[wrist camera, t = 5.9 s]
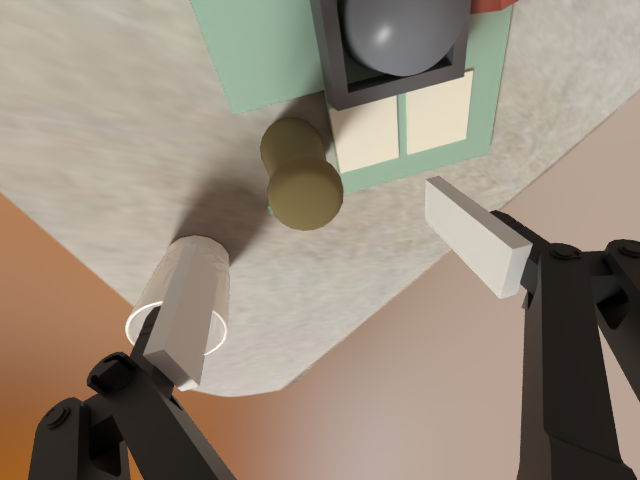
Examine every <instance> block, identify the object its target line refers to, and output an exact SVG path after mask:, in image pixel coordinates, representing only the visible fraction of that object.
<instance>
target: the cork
mask: <svg viewBox="0 0 640 480" xmlns="http://www.w3.org/2000/svg"><path fill="white" fill-rule="evenodd" d="M260 151H261V158H262V160H263V163H264V165H265V167H266V170H267V172H268V174H269V176H270V181H269V185H268V202H269V205H270V207H271V209H272V212H273V213H274V215H275V216H276V217H277V218H278V219H279V220H280V221H281V223H282V224H284V225H286V226H288V227H290V228H292V229H297V230H302V231H307V230H315V229H318V228H320V227H323V226H324V225H326V224H327V223H329V222H330V221H331V220H332V219H333V218H334V217H335V216H336V214H337V213H338V212H339V210H340V208H341V205H342V203H343V193H344V188H343V184H342V181H341V177H340V176H339V174H338V173H337V171H336V170H335V168H334V167H333V166H332V165H331V164H330V163H328V162H327V161H326V156H325V151H324V146H323V142H322V139H321V136H320V134H319V133H318V131H317V130H316V128H315V127H314V126H312V125H311V124H310V123H309V122H307V121H305V120H302V119H299V118H285V119H282V120H279V121H276V122H275V123H274V124H273V125H271V126H270V127H269V128H268V129H267V131H266V132H265V134H264V136H263V137H262V142H261V146H260Z"/></svg>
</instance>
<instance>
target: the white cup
mask: <svg viewBox="0 0 640 480" xmlns="http://www.w3.org/2000/svg"><path fill="white" fill-rule="evenodd" d="M196 243H197V244H198V245H199V247H200V249H201V250H202V252H203V254H204V255H205V257H206V259H207V260H208V262H209V264H210V265H211V267H212V269H213V270H214V272H215V274H216V275H217V277H218V284H217V289H216V295H215V300H214V306H213V312H212V317H211V323H210V329H209V334H208V340H207V346H206V351H205V355H207V354H209V353H211V352H213V351H215V350H216V349H217V348H219V347H220V346H221V345H222V344H223V342H224V341H225V339H226V337H227V333H228V314H229V296H230V294H229V291H230V274H229V268H230V263H229V254H228V253H227V251H226V250H225V249H224V247H223V246H222V245H221V244H220V243H218V242H216V241H214V240H213V239H211V238H208V237H202V236H196V235H193V236H188V237H183V238H179V239H178V240H176V241H175V242H174V243H172V244H171V245H170V246H169V247H168V249H167V251H166V253H165V255H164V257H163V259H162V260H161V262H160V263H159V264H158V265H157V267H156V269H155V271H154V272H153V274H152V276H151V278H150V279H149V281H148V283H147V284H146V286H145V288H144V290H143V292H142V294H141V296H140V298H139V300H138V302H137V303H136V305H135V307H134V309H133V311H132V313H131V315H130V316H129V318H128V320H127V323H126V327H125V328H126V335H127V337H128V339H129V340H130V342H131V343H132V344H133V345H135V343H136V340H137V338H138V337H139V333H140V331H141V329H142V326H143V324H144V321H145V319H146V317H147V316H148V314H149V313H150V312H151V311H152V309H153V308H154V307H157V306H161V305H162V303H163V300H164V298H165V295H166V292H167V290H168V287H169V284H170V282H171V279H172V277H173V274H174V271H175V269H176V266H177V263H178V261H179V258H180V255H181V253H182V250H183V247H185V246H189V245H193V244H196Z"/></svg>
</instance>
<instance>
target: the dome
mask: <svg viewBox="0 0 640 480" xmlns="http://www.w3.org/2000/svg"><path fill="white" fill-rule="evenodd" d="M470 2H471V0H338V4H337V11H338V19H339V26H340V34H341V41H342V44H343V46H344V48H345V50H346V51H347V53H348V54H349V56H350V57H351V58H352V59H353V60H354V61H355V62H357V63H358V64H359V65H361V66H363V67H365V68H368V69H372V70H376V71H380V72H384V73H388V74H392V75H397V76H410V75H415V74H418V73H421V72H423V71H425V70H427V69H429V68H430V67H432V66H433V65H435V64H436V63H437V62H438V61H440V60H441V59H442V58H443V57H444V56H445V55H446V53H447V52H448V51H449V50H450V48H451V47H452V46H453V44H454V43H455V41H456V40H457V38H458V36H459V34H460V32H461V30H462V28H463V25H464V23H465V21H466V17H467V14H468V11H469V7H470Z"/></svg>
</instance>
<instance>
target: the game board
mask: <svg viewBox="0 0 640 480" xmlns="http://www.w3.org/2000/svg"><path fill="white" fill-rule="evenodd" d="M190 2H191V5H192V8H193V10H194V13H195V16H196V18H197V21H198V24H199V26H200V29H201V32H202V34H203V37H204V40H205V42H206V45H207V48H208V50H209V53H210V56H211V58H212V61H213V64H214V66H215V69H216V72H217V74H218V77H219V80H220V82H221V85H222V88H223V90H224V93H225V96H226V98H227V101H228V104H229V106H230V109H231V112H232V114H233V115H234V114H238V113H242V112H246V111H249V110H253V109H257V108H260V107H264V106H268V105H271V104H275V103H279V102H283V101H286V100H290V99H294V98H297V97H301V96H305V95H308V94H312V93H316V92H320V91H323V90H324V93H325V99H326V104H327V110H328V116H329V121H330V127H331V132H332V138H333V143H334V149H335V155H336V160H337V166H338V171H339V176H340V177H341V181H342V184H343V188H344V193H343V194H347V193H350V192H354V191H358V190H361V189H365V188H368V187H372V186H376V185H379V184H383V183H386V182H390V181H393V180H397V179H401V178H404V177H408V176H411V175H415V174H419V173H422V172H426V171H429V170H433V169H437V168H440V167H444V166H447V165H451V164H454V163H458V162H462V161H465V160H469V159H472V158H476V157H480V156H483V155H487V154H489V149H490V143H491V136H492V130H493V124H494V118H495V112H496V105H497V99H498V93H499V87H500V80H501V74H502V68H503V62H504V56H505V49H506V43H507V37H508V31H509V25H510V18H511V12H512V6H513V4H511V5H510V6H508V7H506V8H505V9H503V10H501V11H493V12H485V13H477V14H470V8H471V2H470V7H469V11H468V14H467V17H466V21H465V23H464V25H463V28H462V30H461V32H460V34H459V36H458V38H457V40H456V41H455V43H454V44H453V46H452V47H451V48H450V50H449V51H448V52H447V53H446V55H445V56H444V57H443V58H442V59H441V60H440V61H438V62H437V63H436V64H435V65H433V66H432V67H430V68H429V69H427V70H425V71H423V72H421V73H418V74H415V75H410V76H397V75H392V74H388V73H384V72H380V71H376V70H372V69H368V68H365V67H363V66H361V65H359V64H358V63H357V62H355V61H354V60H353V59H352V58H351V57H350V56H349V54H348V53H347V51H346V50H345V48H344V46H343V44H342V41H341V34H340V26H339V19H338V11H337V4H338V0H190ZM267 207H268V210H269V213H270V215H271V214H274V213H273V212H272V209H271V207H270V205H269V203H267Z"/></svg>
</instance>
